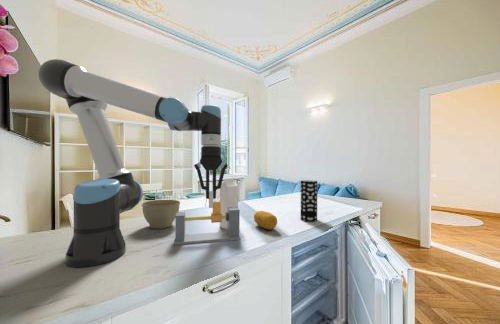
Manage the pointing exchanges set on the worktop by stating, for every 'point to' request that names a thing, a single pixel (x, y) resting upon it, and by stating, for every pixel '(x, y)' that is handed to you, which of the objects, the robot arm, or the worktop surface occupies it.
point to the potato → (265, 220)
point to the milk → (228, 198)
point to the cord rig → (231, 233)
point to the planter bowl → (160, 212)
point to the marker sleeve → (216, 212)
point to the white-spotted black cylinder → (309, 201)
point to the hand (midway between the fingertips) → (210, 207)
